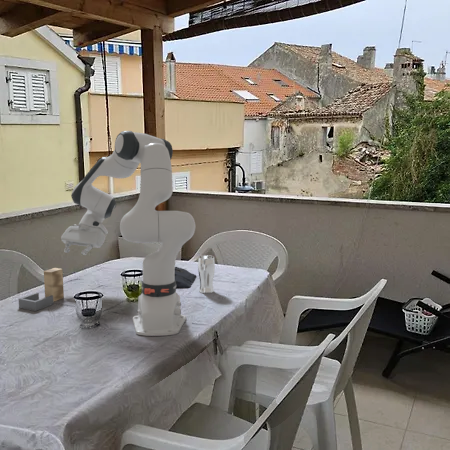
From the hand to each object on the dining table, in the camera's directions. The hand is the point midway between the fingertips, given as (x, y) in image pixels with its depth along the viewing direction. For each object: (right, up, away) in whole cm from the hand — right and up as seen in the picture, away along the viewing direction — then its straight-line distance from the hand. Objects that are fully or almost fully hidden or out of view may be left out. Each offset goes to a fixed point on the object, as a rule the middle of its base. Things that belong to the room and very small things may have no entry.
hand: (74, 253), depth 209 cm
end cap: (-9, -19, -16) cm, 27 cm away
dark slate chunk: (+41, -14, +19) cm, 48 cm away
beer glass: (+55, -17, +3) cm, 57 cm away
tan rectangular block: (-5, -18, -8) cm, 20 cm away
